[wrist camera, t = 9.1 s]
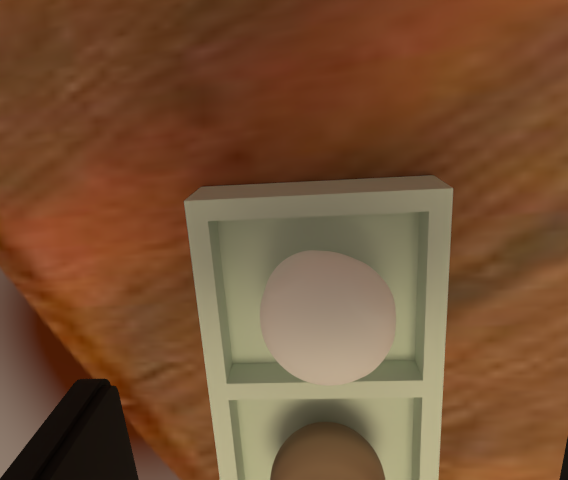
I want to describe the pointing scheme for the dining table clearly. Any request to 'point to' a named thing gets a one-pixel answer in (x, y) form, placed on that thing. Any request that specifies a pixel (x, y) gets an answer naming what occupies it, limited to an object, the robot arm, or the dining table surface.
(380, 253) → the green divided tray
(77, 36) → the dining table surface
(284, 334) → the white ball
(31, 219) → the dining table surface
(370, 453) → the brown ball
